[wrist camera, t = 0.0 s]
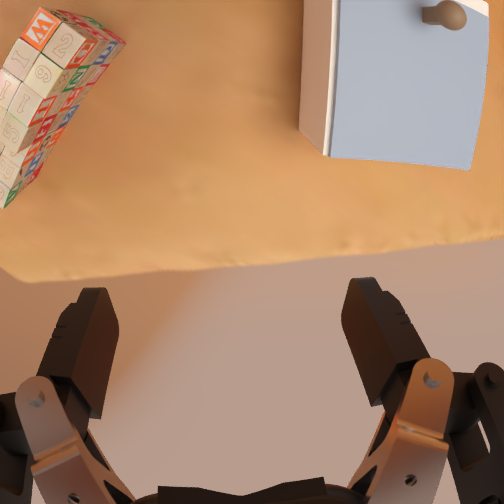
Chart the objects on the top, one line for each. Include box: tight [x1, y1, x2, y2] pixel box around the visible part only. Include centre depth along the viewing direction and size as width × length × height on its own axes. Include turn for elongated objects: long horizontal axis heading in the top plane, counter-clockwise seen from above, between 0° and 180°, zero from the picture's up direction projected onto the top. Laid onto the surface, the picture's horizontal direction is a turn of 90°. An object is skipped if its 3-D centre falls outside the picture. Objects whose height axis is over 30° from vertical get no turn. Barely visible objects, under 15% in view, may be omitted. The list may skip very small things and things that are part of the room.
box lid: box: [328, 0, 489, 171], centre depth 21 cm, size 18×17×6 cm
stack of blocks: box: [0, 7, 126, 209], centre depth 25 cm, size 21×6×12 cm, turn 135°
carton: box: [298, 0, 488, 155], centre depth 27 cm, size 20×18×10 cm
